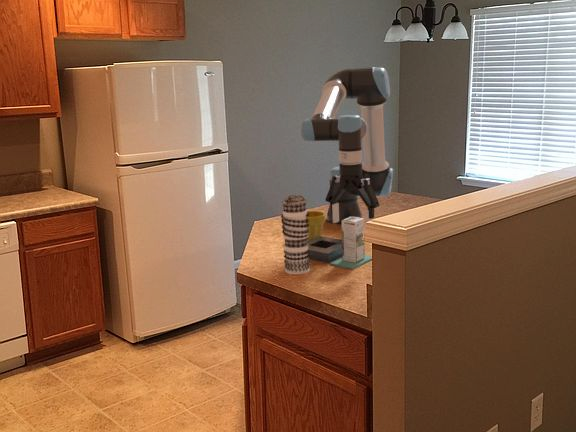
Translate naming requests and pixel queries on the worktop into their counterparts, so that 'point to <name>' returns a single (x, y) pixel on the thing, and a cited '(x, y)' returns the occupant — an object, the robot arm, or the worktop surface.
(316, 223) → the plant pot
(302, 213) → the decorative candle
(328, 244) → the grey square tray
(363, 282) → the worktop surface
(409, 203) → the worktop surface
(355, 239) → the syrup box
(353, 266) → the mat
